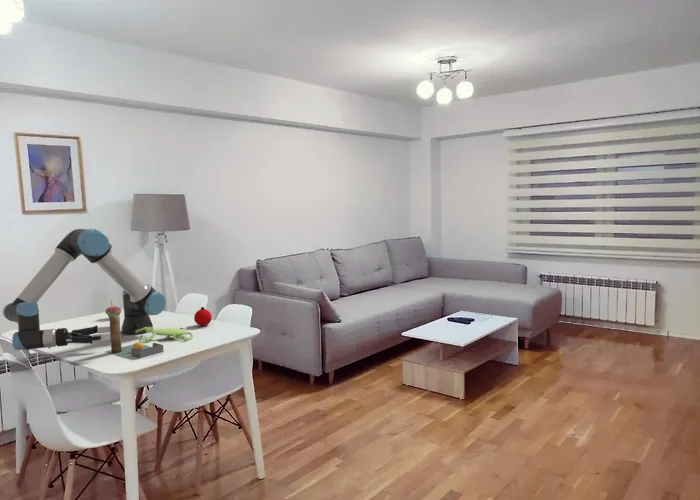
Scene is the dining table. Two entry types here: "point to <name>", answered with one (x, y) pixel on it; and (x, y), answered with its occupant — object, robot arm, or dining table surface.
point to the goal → (147, 351)
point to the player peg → (115, 334)
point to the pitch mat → (126, 351)
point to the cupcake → (113, 310)
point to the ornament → (202, 317)
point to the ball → (138, 346)
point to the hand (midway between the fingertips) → (111, 332)
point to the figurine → (165, 333)
